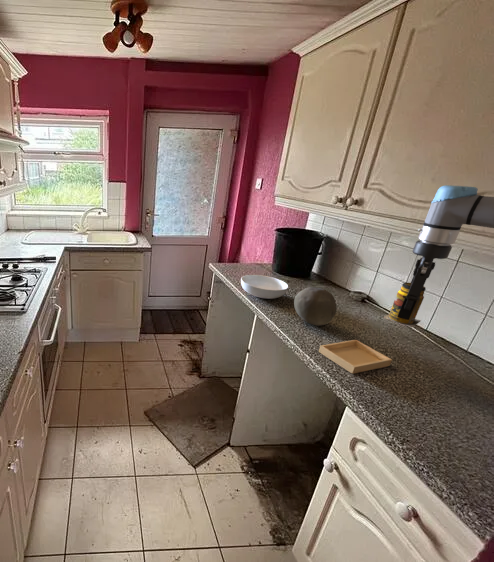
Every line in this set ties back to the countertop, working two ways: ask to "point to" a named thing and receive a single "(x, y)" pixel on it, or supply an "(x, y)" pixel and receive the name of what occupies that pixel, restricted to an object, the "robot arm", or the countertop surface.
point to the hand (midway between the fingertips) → (403, 314)
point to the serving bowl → (263, 286)
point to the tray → (355, 356)
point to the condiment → (398, 303)
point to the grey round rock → (315, 305)
